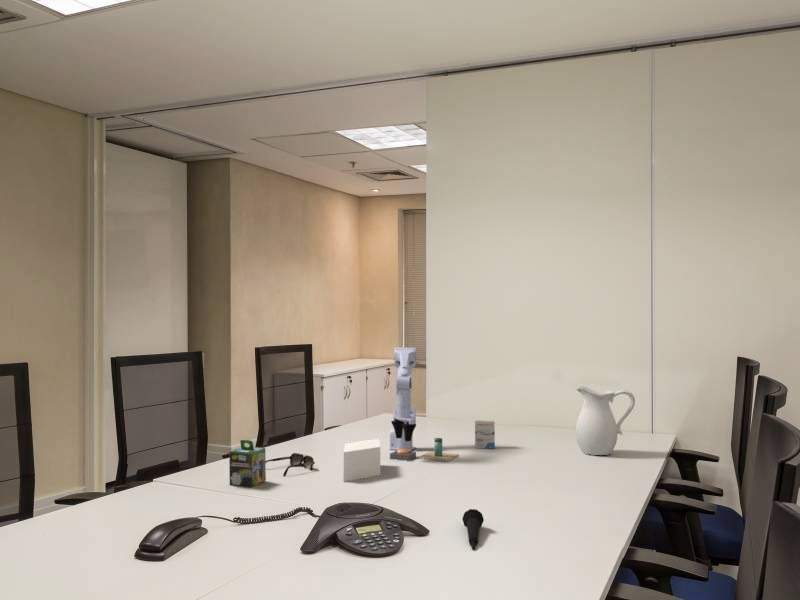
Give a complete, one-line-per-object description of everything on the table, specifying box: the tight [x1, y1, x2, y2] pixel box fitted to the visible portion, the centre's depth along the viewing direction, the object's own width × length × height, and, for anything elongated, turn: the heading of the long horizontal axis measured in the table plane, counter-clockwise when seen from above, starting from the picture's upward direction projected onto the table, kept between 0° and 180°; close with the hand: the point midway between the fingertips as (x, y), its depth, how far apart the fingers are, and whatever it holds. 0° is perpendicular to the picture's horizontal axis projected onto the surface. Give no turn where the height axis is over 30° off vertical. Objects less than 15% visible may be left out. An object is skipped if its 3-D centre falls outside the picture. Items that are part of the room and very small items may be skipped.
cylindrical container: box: [434, 437, 443, 457], centre depth 276 cm, size 3×3×7 cm
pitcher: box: [575, 386, 636, 456], centre depth 285 cm, size 24×17×28 cm
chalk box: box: [228, 439, 267, 488], centre depth 230 cm, size 9×9×15 cm
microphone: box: [462, 508, 485, 551], centre depth 176 cm, size 6×6×20 cm
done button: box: [396, 449, 409, 455], centre depth 273 cm, size 5×5×2 cm
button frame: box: [389, 450, 417, 462], centre depth 273 cm, size 8×8×2 cm
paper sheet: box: [417, 451, 460, 462], centre depth 276 cm, size 13×13×1 cm
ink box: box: [474, 419, 496, 449], centre depth 297 cm, size 8×5×12 cm, turn 84°
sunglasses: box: [265, 452, 316, 477], centre depth 250 cm, size 14×15×5 cm
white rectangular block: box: [342, 438, 381, 482], centre depth 247 cm, size 14×29×10 cm, turn 157°
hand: (403, 439), depth 273 cm, fingers open, 7 cm apart
